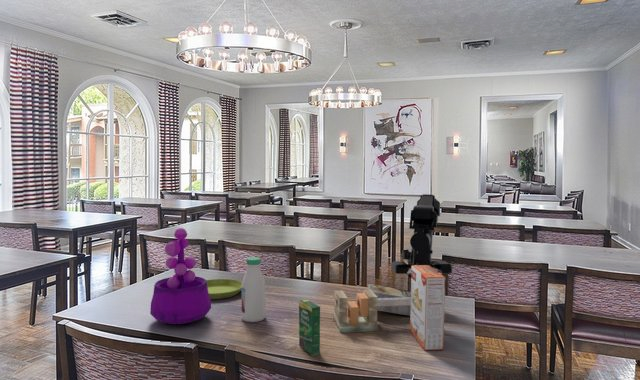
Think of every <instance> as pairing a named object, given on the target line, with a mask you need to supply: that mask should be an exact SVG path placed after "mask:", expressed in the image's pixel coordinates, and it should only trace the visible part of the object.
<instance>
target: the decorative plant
mask: <svg viewBox="0 0 640 380" xmlns="http://www.w3.org/2000/svg"><path fill="white" fill-rule="evenodd" d="M187 236H188V233H187V230H186V229H185V228H182V227H179V228H177V229H176V230H175V231H174V237H175V239H176V240H177V241H175V240H174V241H173V240H171V241H169V242H168V243H166V245H165V246H164V252H165V254H166V255H167V256H168V258H167V259H166V261H165V266H166V267H167V268H168V269H169V270H170V269H171V270H172V269H174V274H173V276H170V277H165V278H162V279H159V280H158V281H156V282H155V283H154V285H153V295H152V298H151V301H150V310H149V311H150V312H149V313H150V315H151V316H152V317H153V319H155V320H156V321H158V322H160V323H164V324H169V325H185V324H189V323H193V322H195V321H198V320H201V319H202V318H204V317H206V315H207V314H208V313H209V312H210V310H211V309H212V299H210V296H209V293H208V287H207V281H206V280H207V279H205V278H204V277H200V276H196V273H195V271H193V270H192V269H194V268H195V266H197V260H196V259H195V258H194V257H192V256H189V257H185V250H184V249H186V248H188V246H189V240H187V239H186V238H187ZM169 256H170V257H169Z"/></svg>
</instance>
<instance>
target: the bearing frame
mask: <svg viewBox="0 0 640 380" xmlns="http://www.w3.org/2000/svg"><path fill="white" fill-rule="evenodd" d="M362 293H365V295H366V296H367V297H368V298H369V309H368V317H360V315H359V316H358V325H357V326H350V324H349V322H348V320H347V303H348V302H349V301H348V300H349V299H348V297H347V295H346V294H345V292H344V291H343V290H334V313H333V314H332V315H333V316H332V319H333V321H334V323H335V325H336V327H337V329H338V331H339V333H340V334H342V333H357V332H359V333H360V332H362V333H363V332H380V331H379V327H380V326H379V325H378V310H377V299H378V297H377V296H376V295H375V294H374V293H373V291H372V290H368V289H363V290H362Z"/></svg>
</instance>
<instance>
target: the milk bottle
mask: <svg viewBox="0 0 640 380" xmlns="http://www.w3.org/2000/svg"><path fill="white" fill-rule="evenodd" d="M261 263H262V259H261V257H257V256H256V257H255V256H253V257H252V256H251V257H247V258H246V272H245V273H244V276H243V279H242V281H241V282H242V289H241V320H242V321H244V322H246V323H247V322H248V323H258V322H261V321H264V320H265V318H266V281H265V278H264V274H263V273H262V270H261Z"/></svg>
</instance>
